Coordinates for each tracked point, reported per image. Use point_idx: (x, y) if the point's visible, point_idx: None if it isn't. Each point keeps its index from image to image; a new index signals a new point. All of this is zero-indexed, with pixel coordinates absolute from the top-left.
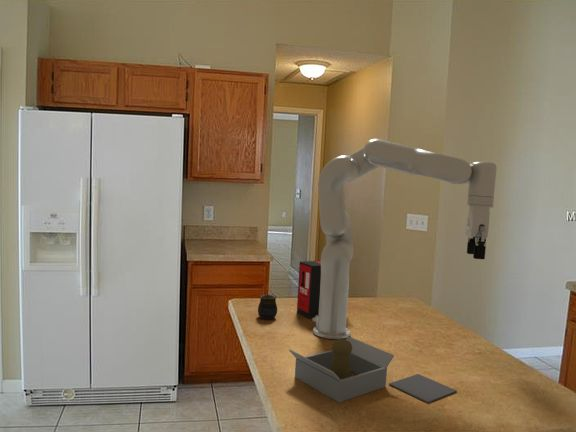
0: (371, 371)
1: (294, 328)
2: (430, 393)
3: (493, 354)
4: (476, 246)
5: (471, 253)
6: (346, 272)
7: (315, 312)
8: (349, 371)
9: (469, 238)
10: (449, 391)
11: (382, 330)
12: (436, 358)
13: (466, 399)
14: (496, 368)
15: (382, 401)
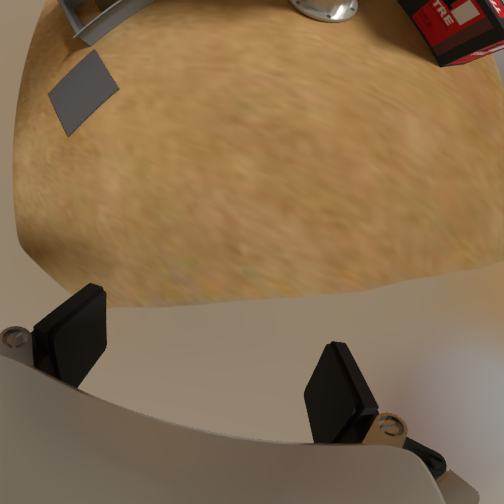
0: (72, 22)
1: None
2: (63, 98)
3: (227, 275)
4: (39, 336)
5: (318, 366)
6: None
7: (409, 5)
8: (96, 1)
9: (364, 440)
10: (66, 125)
11: (362, 90)
12: (194, 140)
13: (53, 144)
14: (154, 243)
15: (62, 46)
